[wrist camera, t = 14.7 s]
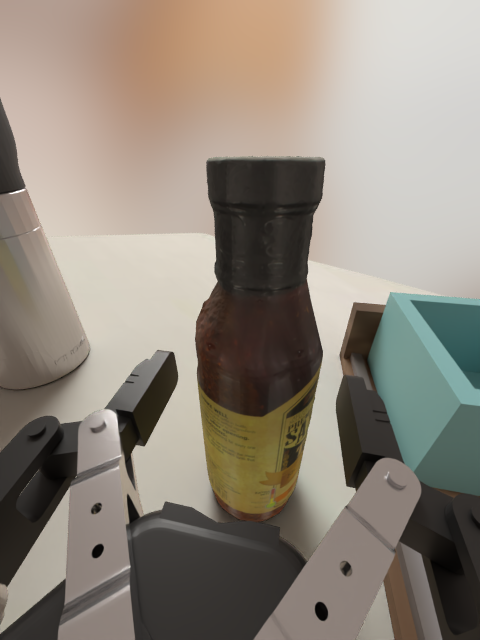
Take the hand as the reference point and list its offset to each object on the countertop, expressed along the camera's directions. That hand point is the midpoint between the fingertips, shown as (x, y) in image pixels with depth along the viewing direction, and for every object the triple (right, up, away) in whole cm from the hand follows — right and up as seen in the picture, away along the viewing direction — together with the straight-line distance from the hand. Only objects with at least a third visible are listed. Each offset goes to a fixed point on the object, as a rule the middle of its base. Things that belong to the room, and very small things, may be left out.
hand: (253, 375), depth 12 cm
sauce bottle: (0, -9, +7) cm, 11 cm away
